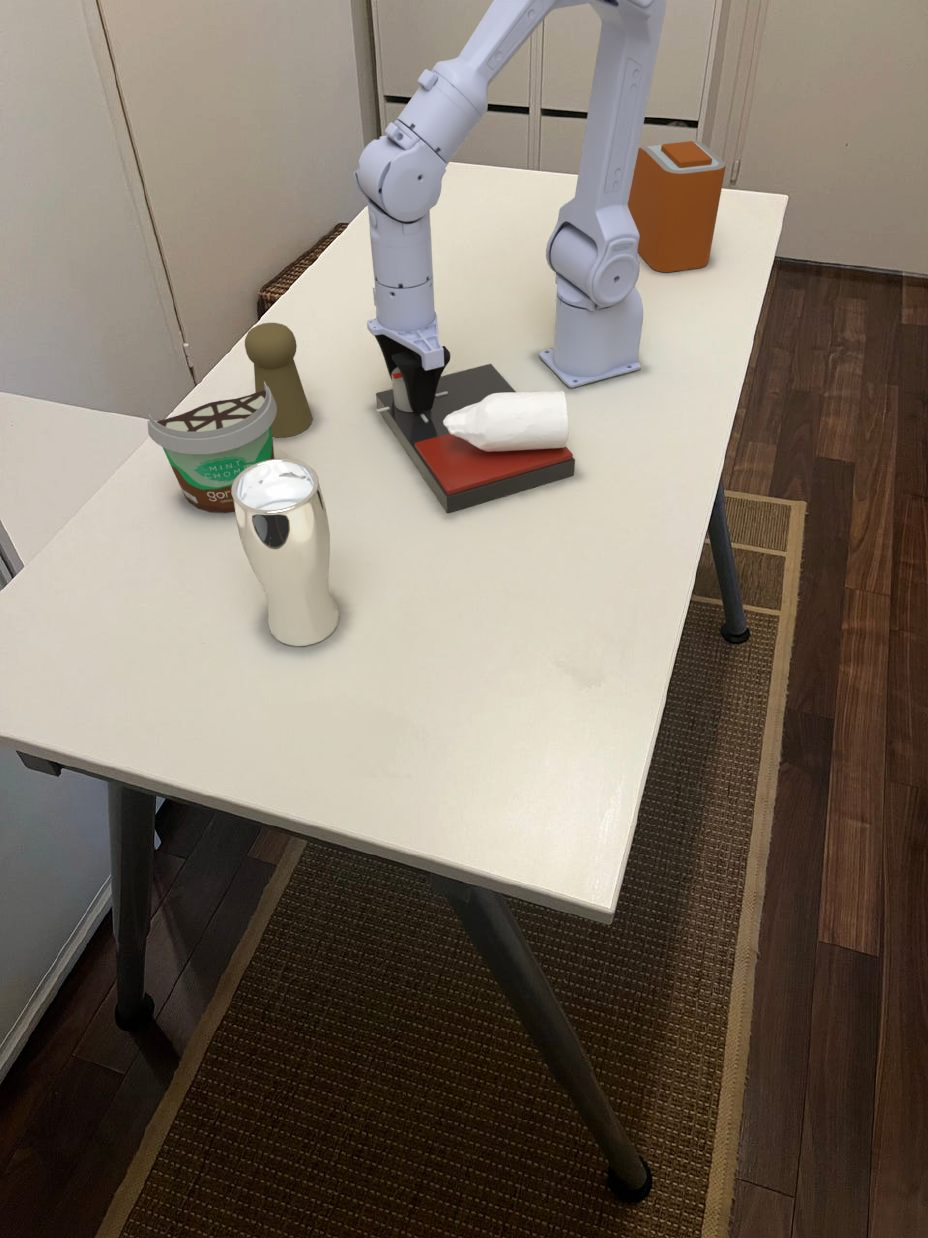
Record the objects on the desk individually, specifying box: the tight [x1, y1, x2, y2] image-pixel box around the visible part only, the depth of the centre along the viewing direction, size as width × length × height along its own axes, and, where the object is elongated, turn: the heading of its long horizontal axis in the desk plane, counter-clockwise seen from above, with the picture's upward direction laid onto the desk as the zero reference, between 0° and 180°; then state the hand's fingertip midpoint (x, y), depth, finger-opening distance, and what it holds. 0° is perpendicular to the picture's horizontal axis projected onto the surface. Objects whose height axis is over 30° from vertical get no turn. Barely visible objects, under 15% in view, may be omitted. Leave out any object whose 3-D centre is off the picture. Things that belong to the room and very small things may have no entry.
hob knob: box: [391, 367, 413, 412], centre depth 99 cm, size 4×4×4 cm
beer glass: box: [231, 458, 340, 647], centre depth 75 cm, size 7×7×15 cm
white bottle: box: [443, 390, 570, 452], centre depth 91 cm, size 6×12×6 cm, turn 94°
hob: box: [375, 363, 576, 514], centre depth 98 cm, size 15×21×2 cm
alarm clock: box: [628, 140, 726, 273], centre depth 124 cm, size 15×8×14 cm, turn 13°
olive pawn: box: [244, 322, 314, 438], centre depth 98 cm, size 6×6×11 cm
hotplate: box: [415, 433, 574, 495], centre depth 93 cm, size 14×9×1 cm, turn 114°
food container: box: [147, 381, 277, 514], centre depth 89 cm, size 12×6×10 cm, turn 117°
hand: (412, 395), depth 99 cm, fingers open, 5 cm apart
